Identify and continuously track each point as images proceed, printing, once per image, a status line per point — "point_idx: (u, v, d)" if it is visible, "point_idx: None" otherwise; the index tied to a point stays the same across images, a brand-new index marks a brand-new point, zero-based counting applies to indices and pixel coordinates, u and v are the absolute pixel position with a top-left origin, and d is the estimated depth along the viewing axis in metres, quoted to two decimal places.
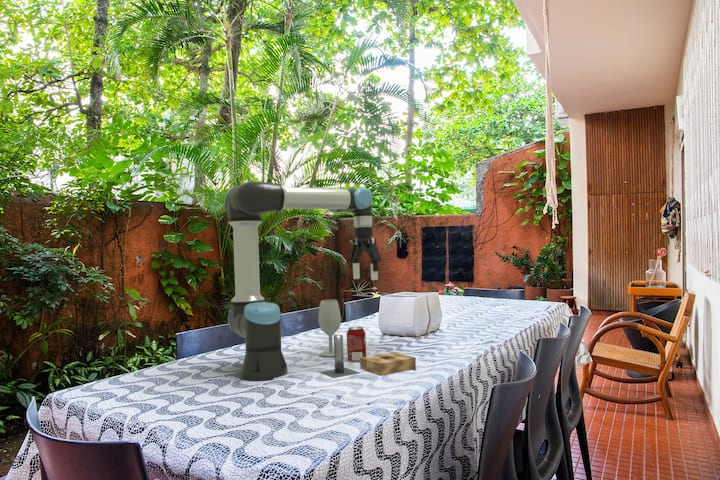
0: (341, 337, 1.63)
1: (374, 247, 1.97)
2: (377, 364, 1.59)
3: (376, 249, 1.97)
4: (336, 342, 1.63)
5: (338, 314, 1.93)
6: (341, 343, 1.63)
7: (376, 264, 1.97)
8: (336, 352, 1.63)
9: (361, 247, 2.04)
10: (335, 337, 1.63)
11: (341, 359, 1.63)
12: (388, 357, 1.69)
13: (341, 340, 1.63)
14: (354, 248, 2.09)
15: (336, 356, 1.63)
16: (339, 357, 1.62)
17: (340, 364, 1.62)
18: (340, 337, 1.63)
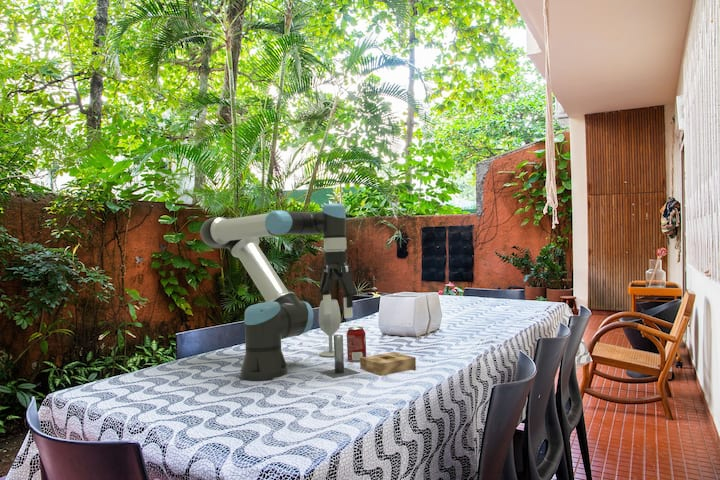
0: (341, 337, 1.63)
1: (348, 277, 1.58)
2: (377, 364, 1.59)
3: (350, 280, 1.58)
4: (336, 341, 1.63)
5: (338, 314, 1.93)
6: (341, 343, 1.63)
7: (350, 298, 1.58)
8: (336, 352, 1.63)
9: (333, 276, 1.64)
10: (335, 337, 1.63)
11: (341, 359, 1.63)
12: (388, 357, 1.69)
13: (341, 340, 1.63)
14: (324, 276, 1.70)
15: (336, 356, 1.63)
16: (339, 357, 1.62)
17: (340, 364, 1.62)
18: (340, 337, 1.63)
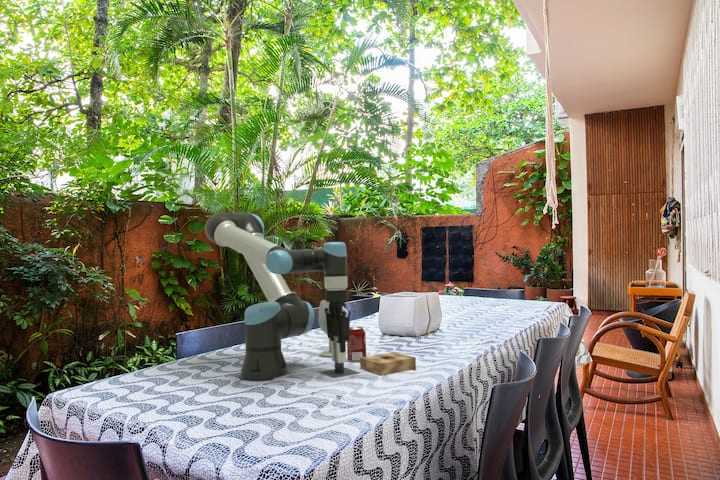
0: None
1: (346, 322, 1.59)
2: (377, 364, 1.59)
3: (347, 326, 1.60)
4: (336, 342, 1.63)
5: None
6: None
7: (343, 344, 1.61)
8: (336, 352, 1.63)
9: (334, 314, 1.64)
10: (335, 337, 1.63)
11: None
12: (388, 357, 1.69)
13: None
14: (329, 318, 1.67)
15: (336, 356, 1.63)
16: None
17: (340, 364, 1.62)
18: None
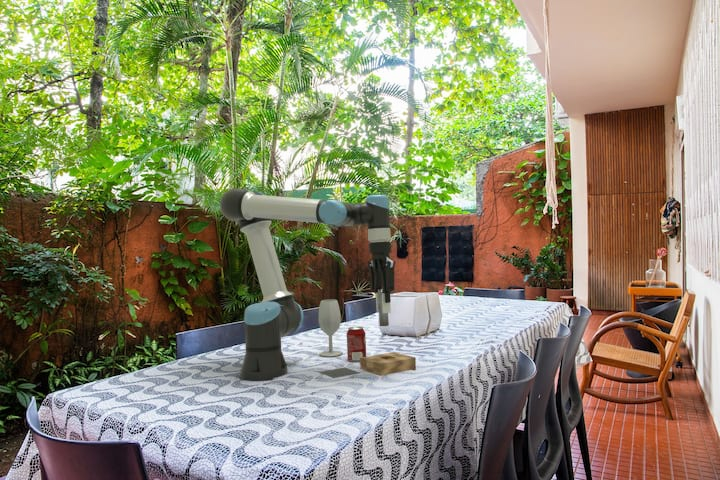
0: None
1: (391, 272, 1.62)
2: (377, 364, 1.59)
3: (392, 276, 1.62)
4: (380, 295, 1.65)
5: (338, 314, 1.93)
6: None
7: (388, 294, 1.64)
8: (381, 305, 1.65)
9: (377, 266, 1.66)
10: (379, 290, 1.65)
11: None
12: (388, 357, 1.69)
13: None
14: (372, 271, 1.70)
15: (381, 309, 1.65)
16: None
17: (385, 317, 1.65)
18: None
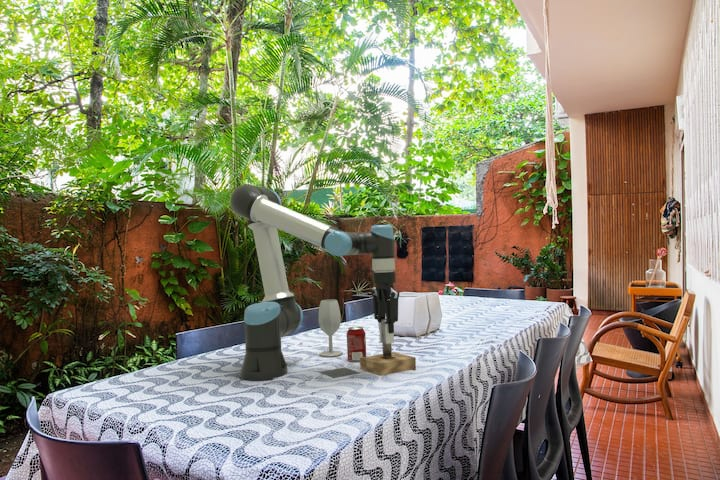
0: None
1: (395, 303, 1.62)
2: (377, 364, 1.59)
3: (396, 307, 1.63)
4: (384, 325, 1.65)
5: (338, 314, 1.93)
6: None
7: (392, 325, 1.64)
8: (384, 335, 1.65)
9: (381, 296, 1.67)
10: (383, 321, 1.66)
11: None
12: (388, 357, 1.69)
13: None
14: (376, 300, 1.70)
15: (384, 339, 1.65)
16: None
17: (388, 347, 1.65)
18: None
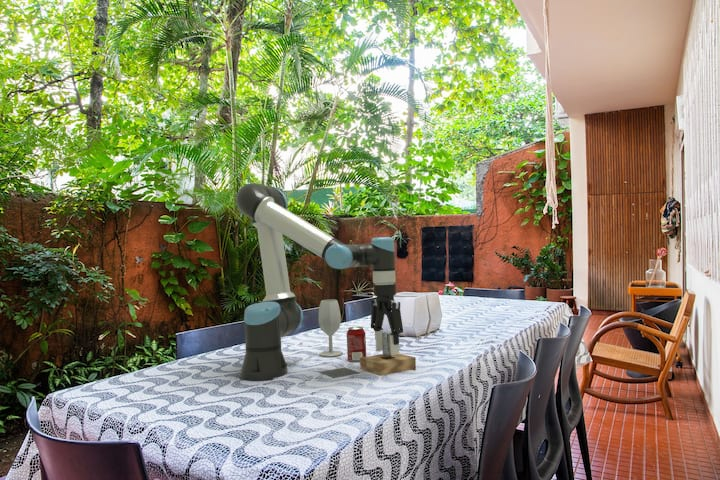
0: (389, 335, 1.66)
1: (397, 314, 1.61)
2: (377, 364, 1.59)
3: (399, 317, 1.61)
4: (384, 339, 1.65)
5: (338, 314, 1.93)
6: (389, 341, 1.66)
7: (397, 336, 1.62)
8: (385, 350, 1.65)
9: (382, 308, 1.67)
10: (384, 335, 1.66)
11: (390, 357, 1.65)
12: None
13: (389, 338, 1.66)
14: (374, 310, 1.71)
15: (385, 354, 1.65)
16: (387, 355, 1.65)
17: None
18: (388, 335, 1.65)
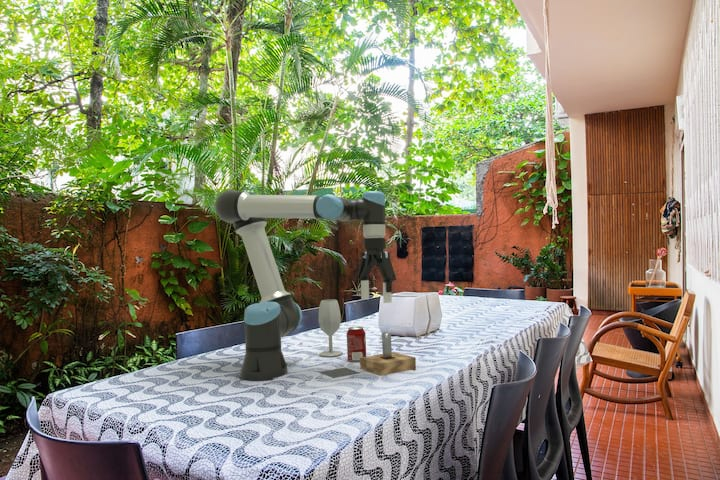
0: (389, 335, 1.66)
1: (388, 262, 1.62)
2: (377, 364, 1.59)
3: (390, 265, 1.62)
4: (384, 339, 1.65)
5: (338, 314, 1.93)
6: (389, 341, 1.66)
7: (390, 284, 1.62)
8: (385, 350, 1.65)
9: (371, 262, 1.68)
10: (384, 335, 1.65)
11: (390, 357, 1.65)
12: None
13: (389, 338, 1.66)
14: (363, 262, 1.74)
15: (385, 354, 1.65)
16: (387, 355, 1.65)
17: None
18: (388, 335, 1.65)
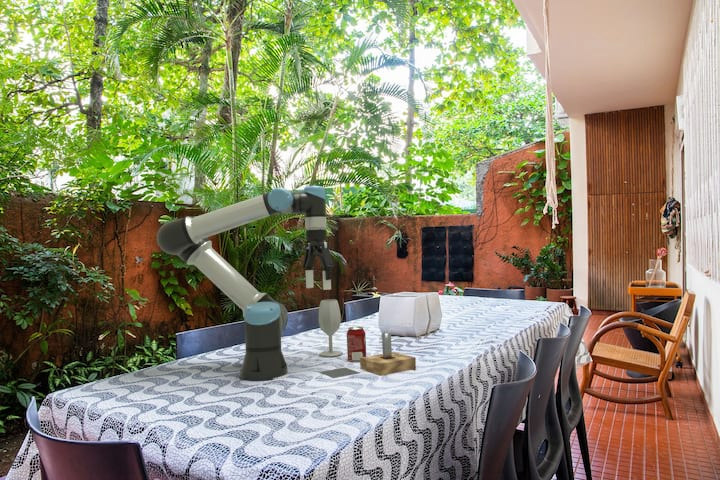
0: (389, 335, 1.66)
1: (327, 252, 1.74)
2: (377, 364, 1.59)
3: (329, 255, 1.73)
4: (384, 339, 1.65)
5: (338, 314, 1.93)
6: (389, 341, 1.66)
7: (329, 272, 1.73)
8: (385, 350, 1.65)
9: (313, 252, 1.80)
10: (384, 335, 1.65)
11: (390, 357, 1.65)
12: None
13: (389, 338, 1.66)
14: (307, 253, 1.85)
15: (385, 354, 1.65)
16: (387, 355, 1.65)
17: None
18: (388, 335, 1.65)
